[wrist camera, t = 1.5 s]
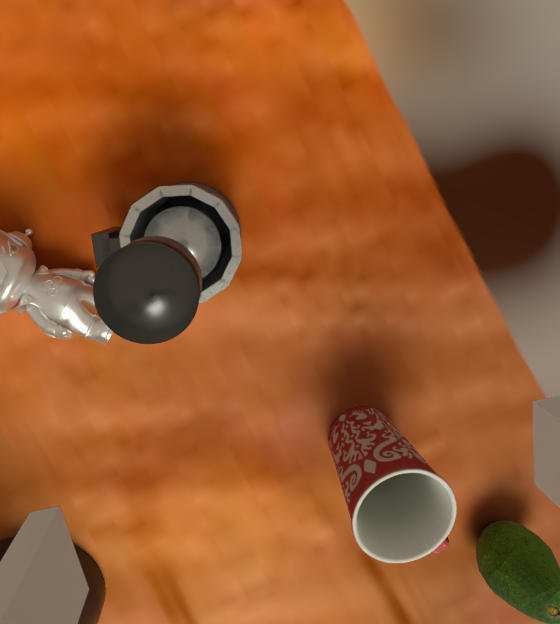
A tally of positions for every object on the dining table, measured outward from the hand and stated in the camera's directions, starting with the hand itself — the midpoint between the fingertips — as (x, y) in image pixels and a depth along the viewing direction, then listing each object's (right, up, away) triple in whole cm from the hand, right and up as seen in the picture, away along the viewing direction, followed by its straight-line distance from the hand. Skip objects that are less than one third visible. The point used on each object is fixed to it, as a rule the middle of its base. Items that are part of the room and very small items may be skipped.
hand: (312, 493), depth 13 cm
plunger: (-8, +10, +22) cm, 25 cm away
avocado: (+25, -22, +44) cm, 55 cm away
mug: (+9, -10, +39) cm, 41 cm away
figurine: (-23, +8, +31) cm, 39 cm away
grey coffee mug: (-9, +12, +31) cm, 34 cm away
